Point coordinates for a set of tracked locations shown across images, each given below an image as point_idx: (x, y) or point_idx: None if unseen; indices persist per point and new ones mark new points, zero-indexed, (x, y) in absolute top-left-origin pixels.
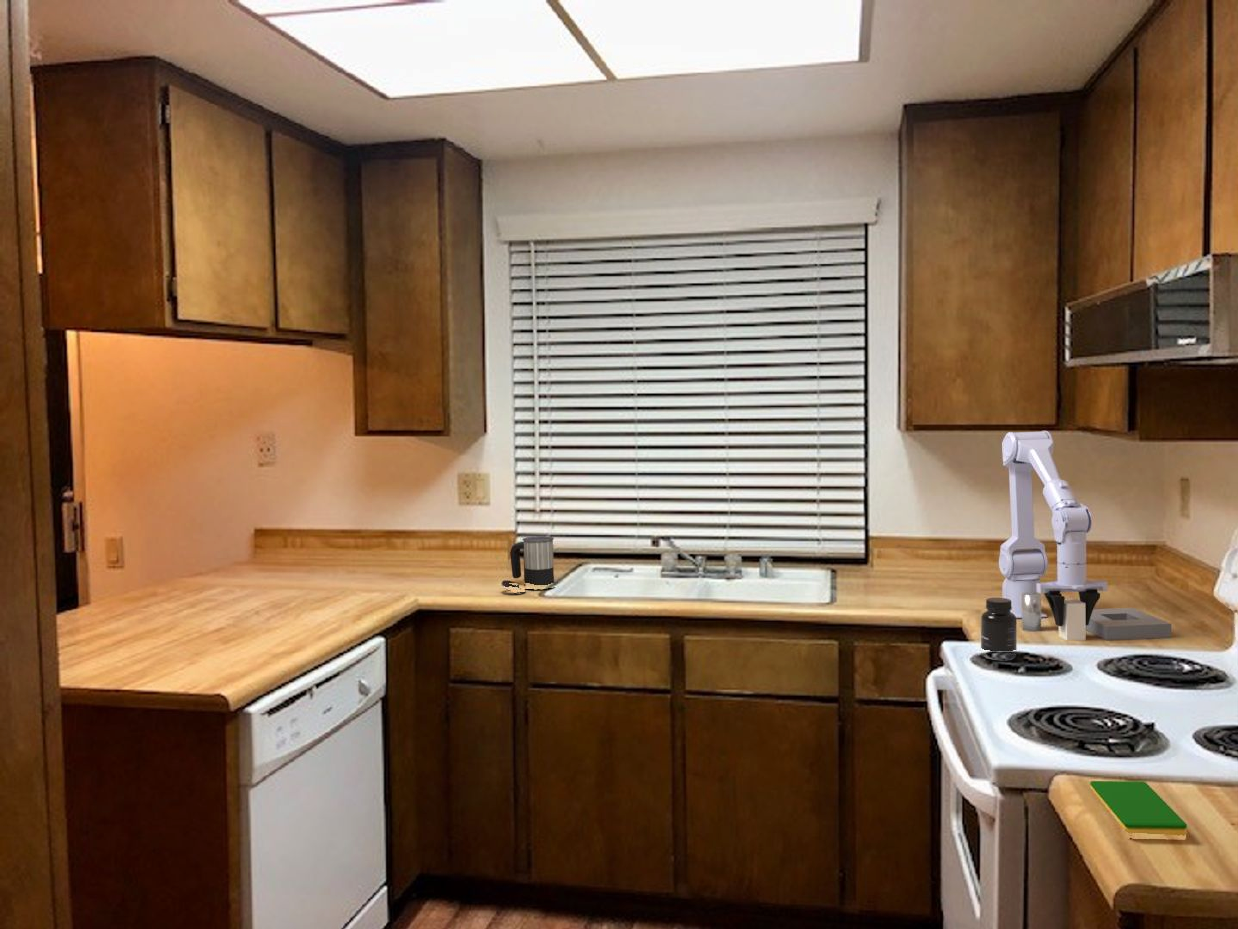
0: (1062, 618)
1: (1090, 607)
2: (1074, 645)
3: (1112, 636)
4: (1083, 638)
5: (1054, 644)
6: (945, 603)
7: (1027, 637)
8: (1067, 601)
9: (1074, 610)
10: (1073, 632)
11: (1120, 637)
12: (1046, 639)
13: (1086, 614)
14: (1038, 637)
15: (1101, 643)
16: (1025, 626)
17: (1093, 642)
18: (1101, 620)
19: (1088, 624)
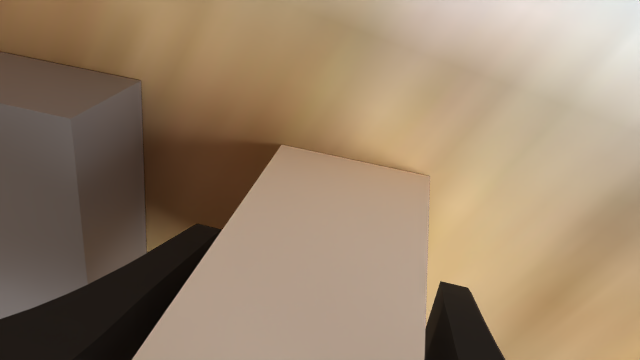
0: (456, 327)
1: (82, 318)
2: (479, 26)
3: (78, 78)
4: (294, 154)
5: (620, 118)
6: None
7: (633, 356)
8: None
9: (316, 342)
10: (368, 198)
11: (25, 64)
12: (547, 265)
13: (167, 290)
14: (556, 327)
15: (220, 10)
16: None
17: (263, 62)
18: (35, 291)
19: (192, 227)
